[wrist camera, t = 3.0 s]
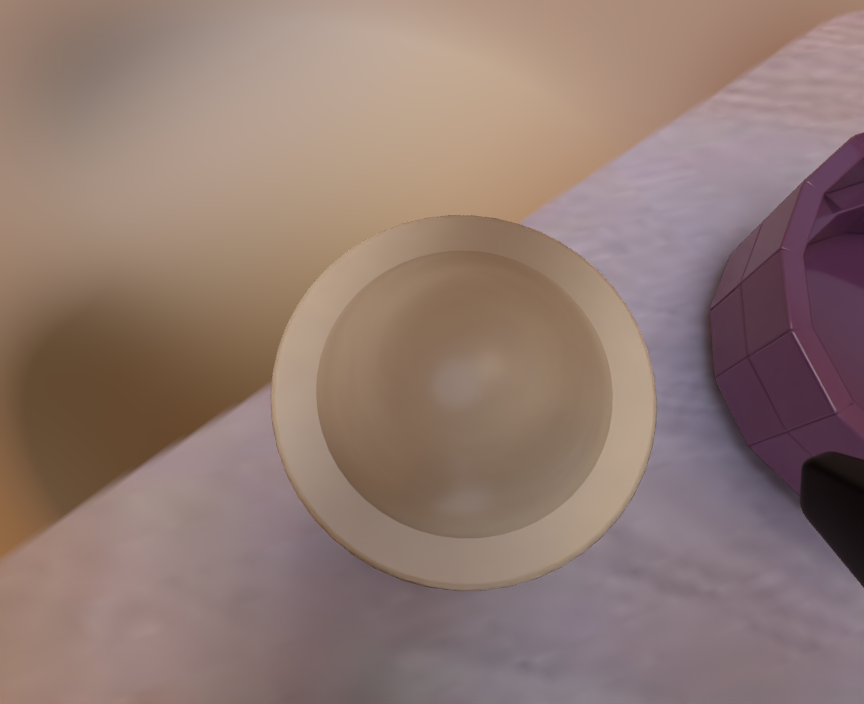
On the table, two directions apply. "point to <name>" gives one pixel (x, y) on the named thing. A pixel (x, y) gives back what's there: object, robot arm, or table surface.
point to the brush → (463, 403)
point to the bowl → (798, 322)
